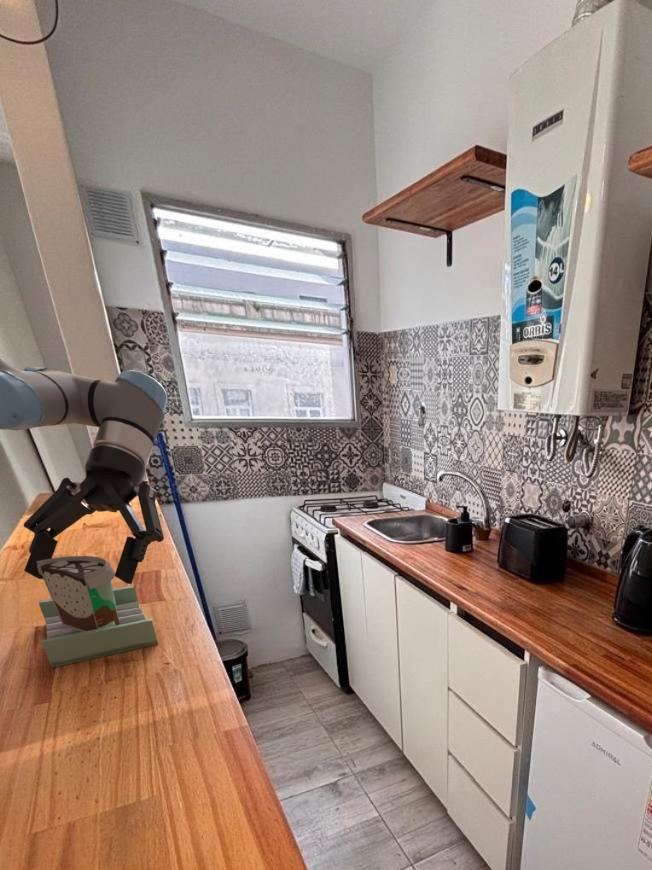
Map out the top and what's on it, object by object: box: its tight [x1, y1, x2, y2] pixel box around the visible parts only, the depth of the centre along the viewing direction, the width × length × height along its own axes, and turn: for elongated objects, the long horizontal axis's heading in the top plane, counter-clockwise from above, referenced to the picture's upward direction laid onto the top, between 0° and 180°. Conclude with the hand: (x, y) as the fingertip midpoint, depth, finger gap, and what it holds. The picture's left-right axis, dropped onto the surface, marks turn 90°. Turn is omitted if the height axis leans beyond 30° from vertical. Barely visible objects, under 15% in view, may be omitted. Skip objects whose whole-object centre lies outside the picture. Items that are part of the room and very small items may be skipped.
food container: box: [37, 555, 120, 632], centre depth 77 cm, size 12×6×10 cm, turn 64°
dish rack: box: [38, 585, 159, 669], centre depth 80 cm, size 18×13×4 cm
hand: (78, 577), depth 76 cm, fingers open, 13 cm apart
